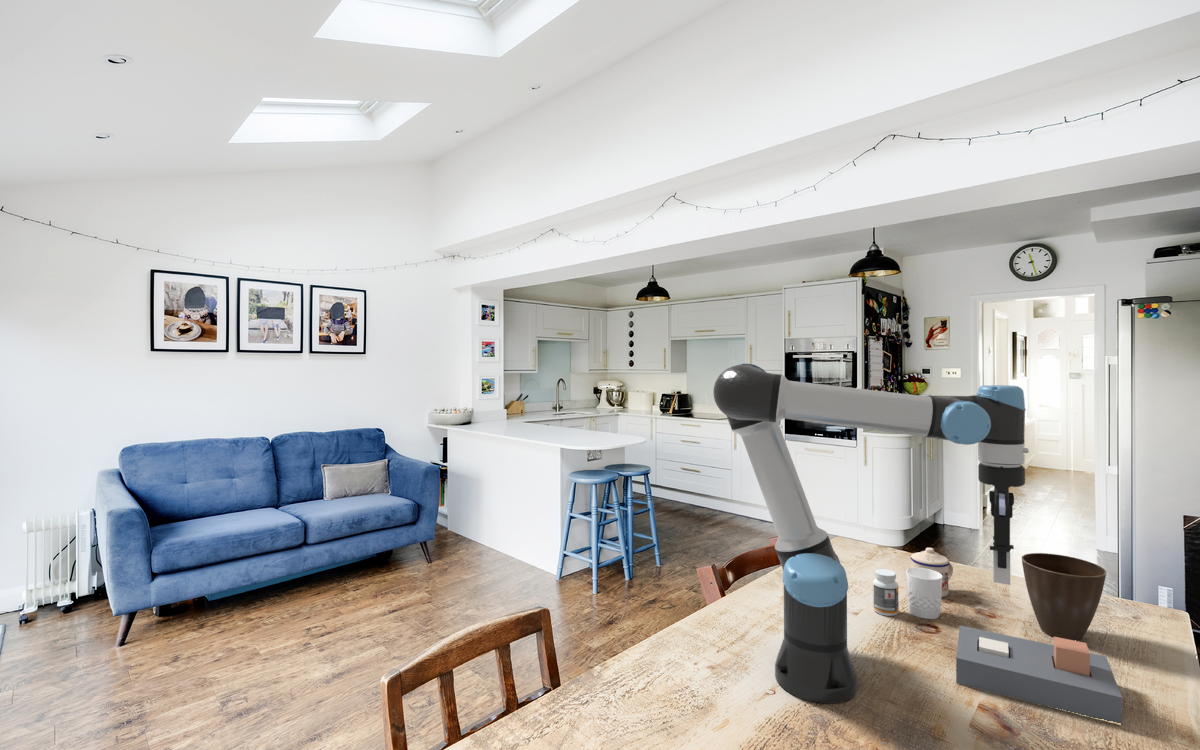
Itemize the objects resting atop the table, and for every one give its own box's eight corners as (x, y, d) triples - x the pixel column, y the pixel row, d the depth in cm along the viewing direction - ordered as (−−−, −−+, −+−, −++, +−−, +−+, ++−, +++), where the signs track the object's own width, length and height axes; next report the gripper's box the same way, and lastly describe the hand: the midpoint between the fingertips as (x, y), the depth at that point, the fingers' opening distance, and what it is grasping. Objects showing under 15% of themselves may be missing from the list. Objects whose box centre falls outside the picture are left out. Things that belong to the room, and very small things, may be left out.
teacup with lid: (929, 600, 149) (929, 555, 148) (902, 586, 157) (902, 544, 157) (966, 594, 152) (966, 551, 151) (937, 581, 160) (938, 540, 160)
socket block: (1121, 726, 97) (1122, 697, 97) (956, 683, 111) (956, 657, 111) (1105, 681, 111) (1106, 656, 110) (959, 647, 124) (959, 625, 124)
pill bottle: (903, 616, 139) (903, 576, 139) (879, 616, 139) (879, 576, 139) (891, 606, 145) (891, 568, 145) (868, 606, 145) (868, 568, 145)
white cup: (909, 603, 147) (909, 565, 146) (945, 612, 142) (945, 572, 141) (902, 614, 140) (902, 574, 140) (939, 623, 135) (939, 582, 135)
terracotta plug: (1089, 685, 104) (1089, 654, 104) (1055, 677, 107) (1056, 647, 106) (1085, 673, 108) (1086, 643, 108) (1053, 665, 111) (1053, 636, 110)
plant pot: (1048, 614, 139) (1049, 549, 139) (1121, 642, 125) (1122, 570, 125) (1005, 624, 134) (1006, 557, 134) (1077, 655, 120) (1078, 580, 120)
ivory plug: (1008, 682, 111) (1008, 653, 111) (978, 675, 113) (978, 646, 113) (1007, 671, 115) (1007, 643, 115) (979, 664, 117) (979, 636, 117)
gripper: (1027, 471, 105) (1027, 598, 105) (1023, 460, 116) (1023, 575, 116) (978, 467, 109) (978, 589, 110) (978, 457, 120) (979, 568, 120)
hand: (1001, 582), depth 113 cm, fingers closed
